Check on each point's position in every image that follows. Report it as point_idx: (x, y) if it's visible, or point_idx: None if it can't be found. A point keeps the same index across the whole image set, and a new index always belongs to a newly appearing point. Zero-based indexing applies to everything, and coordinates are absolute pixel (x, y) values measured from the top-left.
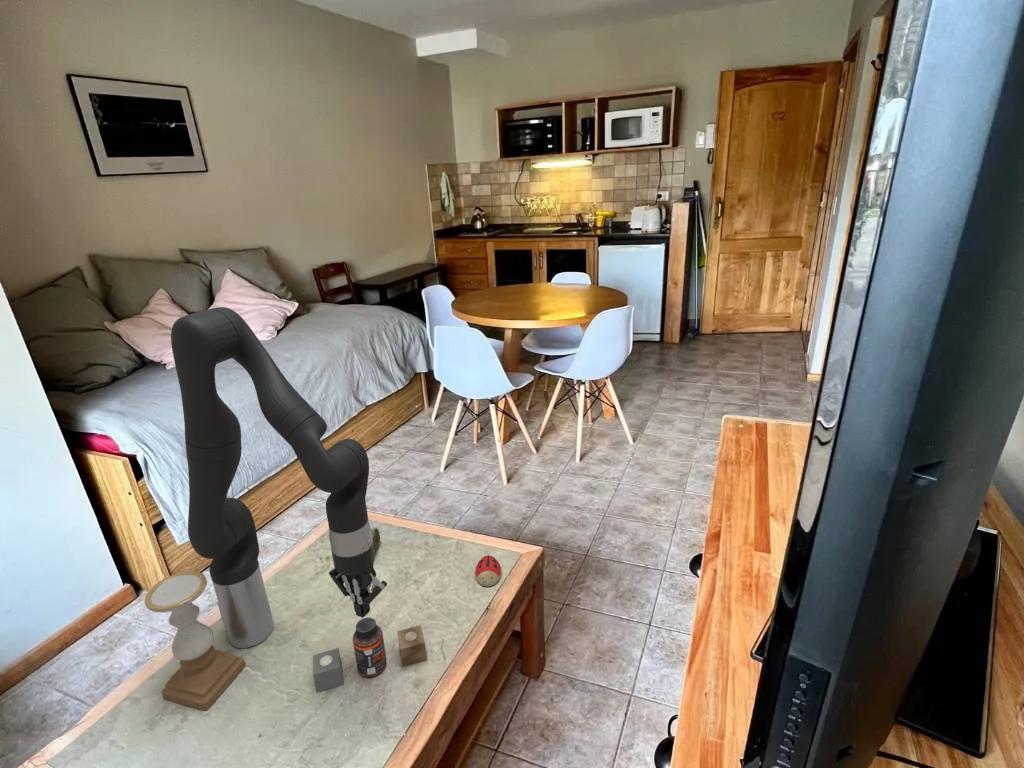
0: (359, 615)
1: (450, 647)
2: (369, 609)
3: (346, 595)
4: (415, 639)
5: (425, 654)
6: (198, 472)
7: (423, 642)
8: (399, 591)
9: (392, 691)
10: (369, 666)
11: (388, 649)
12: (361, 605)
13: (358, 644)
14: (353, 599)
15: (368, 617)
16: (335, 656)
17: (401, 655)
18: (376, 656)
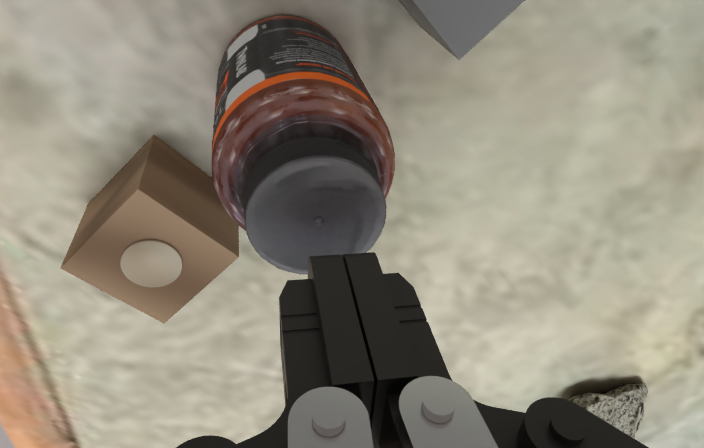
0: (337, 264)
1: (51, 284)
2: (280, 344)
3: (542, 416)
4: (118, 261)
5: (83, 220)
6: None
7: (66, 265)
8: None
9: (93, 6)
10: (245, 48)
11: None
12: (326, 370)
13: (305, 91)
14: (427, 412)
15: None
16: (442, 3)
17: (145, 168)
18: (219, 100)
